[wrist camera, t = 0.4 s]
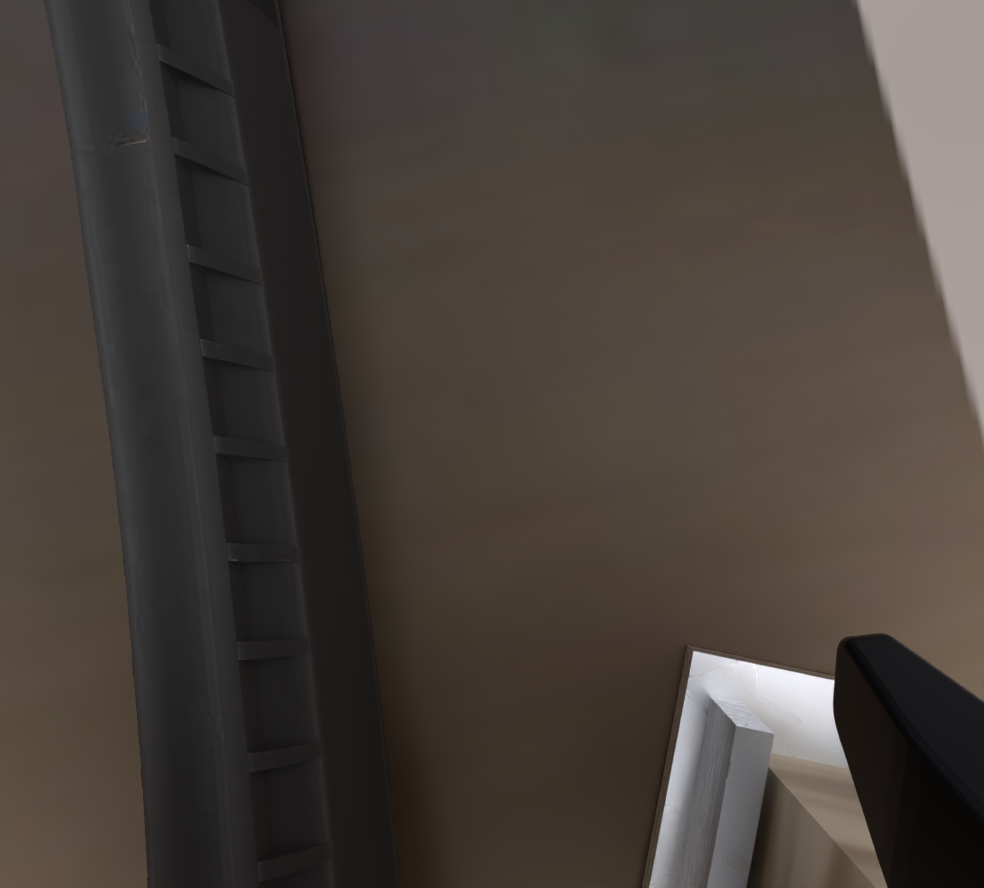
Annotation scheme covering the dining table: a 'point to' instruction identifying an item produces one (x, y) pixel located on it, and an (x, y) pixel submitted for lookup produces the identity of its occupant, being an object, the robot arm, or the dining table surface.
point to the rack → (731, 762)
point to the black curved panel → (225, 449)
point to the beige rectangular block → (812, 830)
